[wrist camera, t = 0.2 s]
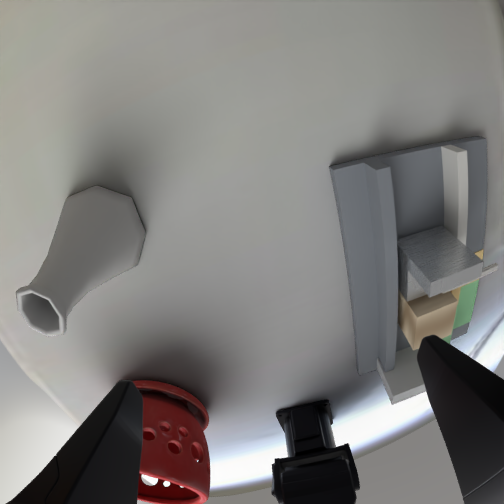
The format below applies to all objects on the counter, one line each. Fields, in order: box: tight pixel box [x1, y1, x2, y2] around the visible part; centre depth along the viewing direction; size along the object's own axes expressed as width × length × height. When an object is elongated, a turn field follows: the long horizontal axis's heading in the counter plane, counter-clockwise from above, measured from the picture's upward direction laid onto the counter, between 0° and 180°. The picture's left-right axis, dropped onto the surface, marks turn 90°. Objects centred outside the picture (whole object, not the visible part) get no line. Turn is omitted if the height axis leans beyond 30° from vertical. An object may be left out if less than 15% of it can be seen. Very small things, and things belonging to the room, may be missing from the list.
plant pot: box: [132, 380, 210, 504], centre depth 26 cm, size 13×13×12 cm
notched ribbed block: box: [397, 226, 498, 302], centre depth 19 cm, size 4×10×6 cm, turn 106°
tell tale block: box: [397, 289, 458, 350], centre depth 23 cm, size 4×4×4 cm
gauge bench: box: [329, 136, 487, 405], centre depth 22 cm, size 22×14×6 cm, turn 16°
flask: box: [16, 185, 146, 337], centre depth 17 cm, size 7×7×10 cm
